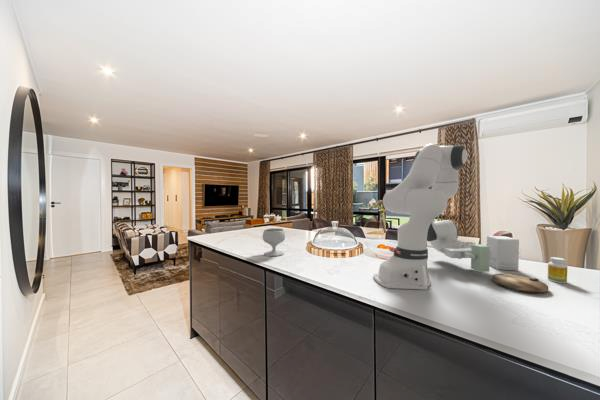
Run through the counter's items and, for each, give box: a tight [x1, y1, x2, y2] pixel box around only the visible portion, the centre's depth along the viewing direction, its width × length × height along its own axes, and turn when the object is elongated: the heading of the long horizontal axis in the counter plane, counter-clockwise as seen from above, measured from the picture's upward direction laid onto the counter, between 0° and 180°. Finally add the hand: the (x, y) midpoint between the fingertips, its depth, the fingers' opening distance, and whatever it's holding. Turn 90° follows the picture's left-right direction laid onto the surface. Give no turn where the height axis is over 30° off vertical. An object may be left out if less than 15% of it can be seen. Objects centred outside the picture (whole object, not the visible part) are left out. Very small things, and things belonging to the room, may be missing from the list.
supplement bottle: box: [547, 256, 568, 284], centre depth 94 cm, size 5×5×10 cm
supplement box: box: [486, 235, 520, 272], centre depth 111 cm, size 9×9×15 cm
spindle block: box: [470, 243, 490, 273], centre depth 99 cm, size 4×4×11 cm
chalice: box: [262, 227, 286, 257], centre depth 138 cm, size 14×14×15 cm
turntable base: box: [498, 284, 541, 294], centre depth 89 cm, size 13×13×1 cm
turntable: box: [491, 273, 549, 293], centre depth 89 cm, size 16×16×2 cm
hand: (482, 257), depth 98 cm, fingers closed on spindle block, 4 cm apart
